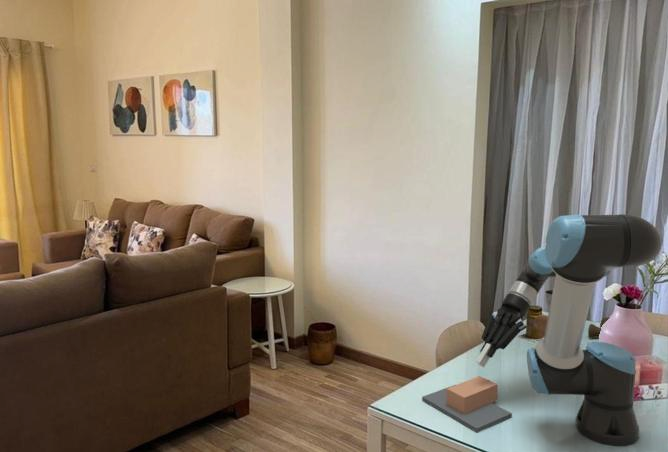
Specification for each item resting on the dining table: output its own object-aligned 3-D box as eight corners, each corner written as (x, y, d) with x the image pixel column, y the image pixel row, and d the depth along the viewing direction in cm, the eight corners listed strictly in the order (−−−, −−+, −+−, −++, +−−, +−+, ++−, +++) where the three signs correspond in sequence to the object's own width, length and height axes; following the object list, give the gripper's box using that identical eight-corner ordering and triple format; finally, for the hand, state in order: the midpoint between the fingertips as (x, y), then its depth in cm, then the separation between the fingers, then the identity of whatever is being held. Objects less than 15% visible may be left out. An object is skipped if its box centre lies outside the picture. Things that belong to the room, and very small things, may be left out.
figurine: (560, 349, 200) (561, 310, 198) (555, 357, 194) (557, 317, 191) (536, 345, 205) (537, 307, 202) (530, 353, 198) (532, 313, 196)
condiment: (547, 337, 213) (548, 307, 211) (533, 342, 208) (534, 312, 206) (531, 331, 219) (532, 303, 217) (517, 336, 214) (518, 307, 212)
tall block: (497, 384, 161) (464, 397, 154) (497, 400, 162) (464, 414, 155) (479, 375, 167) (446, 388, 160) (479, 391, 168) (446, 404, 160)
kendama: (621, 332, 217) (613, 347, 201) (595, 328, 223) (585, 343, 207) (622, 317, 217) (614, 331, 200) (595, 314, 222) (585, 327, 206)
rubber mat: (511, 417, 155) (511, 413, 154) (476, 432, 147) (476, 428, 147) (455, 388, 173) (455, 384, 173) (422, 400, 166) (422, 396, 165)
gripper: (542, 311, 163) (503, 378, 157) (507, 301, 174) (469, 363, 168) (531, 297, 160) (490, 365, 154) (496, 287, 171) (457, 350, 165)
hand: (479, 364), depth 161 cm, fingers closed
